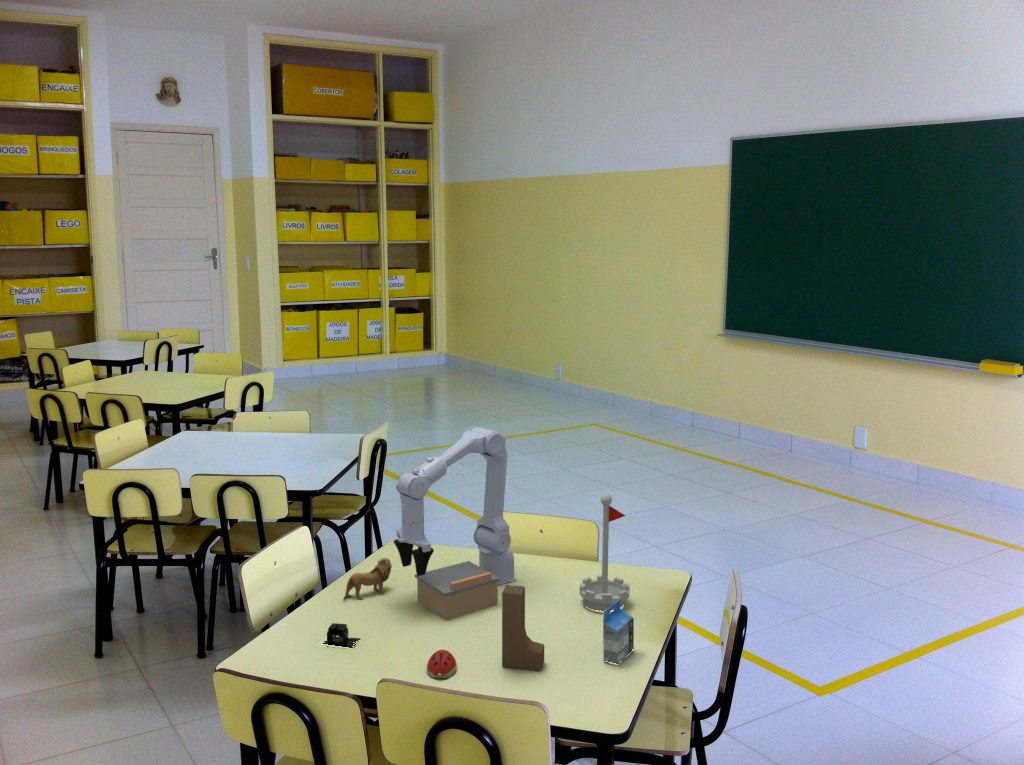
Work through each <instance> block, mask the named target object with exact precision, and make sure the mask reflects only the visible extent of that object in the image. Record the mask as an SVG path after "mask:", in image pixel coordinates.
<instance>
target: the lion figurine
mask: <svg viewBox="0 0 1024 765" xmlns="http://www.w3.org/2000/svg"><path fill="white" fill-rule="evenodd" d="M392 567H393V566H392V563H391V560H390V559H389V558H385V557H383V558H381V559H378V561H377V564H376V565H375V566H374V568H373V569H372V570H371V571H369V572H354V573H353V574H352V575H351V576H350V577H349V578H348V580H347V584H346V589H345V595H344V597H343V601H345V600H347V598H351V597H352V596H351V595H352V594H349V593H350V591H351V590H352V589H355V596H356V598H358V600H364V599H365V598H364V596H363V595H362V596H361V595H360V594H361V593H360V592H361V589H362V586H365V587H369V586H373V588H372V589H373V592H374V593H379V595H381V594H383V595H385V591H383V589H384V582H386V581H388V580H389V578H390V575H391V573H392V572H391V570H392ZM377 591H378V592H377Z"/></svg>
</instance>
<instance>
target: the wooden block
mask: <svg viewBox="0 0 1024 765" xmlns="http://www.w3.org/2000/svg"><path fill="white" fill-rule="evenodd" d="M501 615H502V616H501V665H502V668H511V669H518V670H519V669H520V670H527V669H528V671H537V670H541V671H542V668H543V666H544V663H545V645H544V643H540V642H538V641H537V642H536V641H533V640H532V639H531V638H530V637H529V636H528V635H527V631H526V587H525V586H524V585H511V584H506V585H505V586H504V588H503V590H502V593H501Z"/></svg>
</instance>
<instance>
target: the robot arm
mask: <svg viewBox="0 0 1024 765" xmlns="http://www.w3.org/2000/svg"><path fill="white" fill-rule="evenodd" d="M506 441H507V438H506V437H505V436H504V435H503V434H502V433H501V432H500V431H496V430H492V429H488V428H483V427H480V426H478V425H473V426H471V427H470V428H469V429H467V430H466V431H464V432H463V434H462V436H461V438H459V439H458V440H457V441H456V442H455V443H454V444H453V445H452V446H450V447H449V448H448V449H446V451H444V452H443V453H442V454H441V455H440V456H434V455H433V456H429V457H427V458H426V459H425V460H426V461H425V462H423V463H422V464H420V465H419V466H418V467H415V468H414V469H412V471H411V472H406V473H403V474H402V475H401V476H400V477H399V478H398V481H397V483H396V484H395V488H396V491H397V492H398V493H399V499H400V502H401V503H400V505H401V507H400V509H401V528H396V531H395V532H396V538H397V537H398V538H397V539H394V540H393V544H394V545H395V547H396V550H397V552H398V554H399V558H400V561H401V565H402V567H403V568H405V567H409V566H411V565H412V560H413V559H414V564H415V572H416V574H417V575H418V576H421V575H425V573H426V572H427V569H428V564H429V561H430V560H431V557H432V555H433V553H434V552H435V551H434V548H432V544H431V542H429V540H428V539H427V537H426V534H425V503H424V502H425V499H424V498H425V497H426V495H427V494H428V492H429V489H430V488H431V487H432V485H434V484H435V483H437V482H438V480H440V479H442V478H443V477H444V476H445V475H447V470H448V468H449V467H450V466H452V465H453V464H455V463H456V462H458V461H459V460H461V459H463V458H464V457H465V456H467V455H468V454H470V453H471V454H480V455H481V456H482V457H483V458H484V459H485V460H486V470H485V471H486V472H485V484H484V485H485V486H484V497H483V499H484V500H483V512H482V513H483V514H482V516H481V517H480V518H478V519H477V521H476V527H475V529H474V531H473V541H474V543H475V544H477V549H478V554H479V556H478V557H479V558H478V559H479V562H478V563H479V565H478V566H479V567H481V568H483V569H484V570H486V571H488V572H490V573H492V574H494V575H495V576H497V577H499V578H500V581H498V586H500V585H503V584H507V583H510V582H514V581H516V580H517V579H516V577H515V555H514V552H513V550H512V549H511V548H510V546H511V543H512V537H511V534H510V525H509V524H508V522H507V521H506V519H505V517H504V508H505V507H504V505H505V495H506V494H505V493H506V483H507V482H506V481H507V480H506V479H507V478H506V477H507V466H508V452H507V448H506V443H507V442H506ZM414 546H416V547H417V548H415V549H414Z"/></svg>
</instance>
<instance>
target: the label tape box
mask: <svg viewBox="0 0 1024 765" xmlns="http://www.w3.org/2000/svg"><path fill="white" fill-rule="evenodd" d="M620 604H621V599H620V600H618V601H617V602H616V603H614V604H613V605H612V606H610V607H609V608H608V609H607V610H606V611H604V613H603V619H602V623H603V626H602V628H603V629H602V634H603V635H602V637H603V640H602V642H603V644H602V645H603V647H602V648H603V662H604V661H608V662H612V663H616V664H619V663H620V661H622V660H623V659H624V658H625V657H626V656H627V655H628V654H629V653H630V652H631V651H632V649H634V647H635V644H634V640H635V637H634V636H635V635H634V632H635V630H634V628H635V626H634V623H635V622H634V621H635V620H634V619H635V618H634V617H633V616H632V615H630V614H629V613H627V612H626V611H625V610H624V609H620ZM612 608H613V609H614V608H615V609H614V611H613V612H611V613H609V612H610V611H611V610H612ZM634 650H635V649H634ZM632 652H633V651H632ZM632 652H631V653H632ZM631 653H630V654H631ZM630 654H629V655H630ZM629 655H628V656H629ZM628 656H627V657H628ZM627 657H626V658H627ZM626 658H625V659H626ZM625 659H624V660H625ZM624 660H623V661H624ZM623 661H622V662H623ZM620 664H621V663H620ZM620 664H619V665H620Z"/></svg>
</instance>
